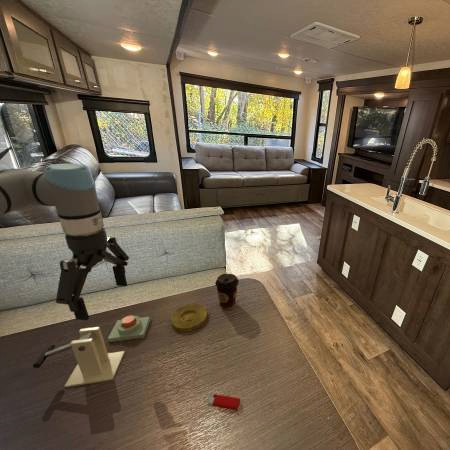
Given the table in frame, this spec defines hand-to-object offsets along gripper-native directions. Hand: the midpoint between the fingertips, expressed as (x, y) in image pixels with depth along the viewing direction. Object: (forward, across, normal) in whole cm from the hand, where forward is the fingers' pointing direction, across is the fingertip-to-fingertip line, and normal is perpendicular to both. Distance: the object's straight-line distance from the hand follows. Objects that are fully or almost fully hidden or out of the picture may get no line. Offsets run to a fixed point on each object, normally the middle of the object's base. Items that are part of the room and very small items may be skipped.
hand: (104, 300), depth 67 cm
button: (+18, +9, +2) cm, 20 cm away
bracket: (+21, -5, +2) cm, 22 cm away
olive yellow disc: (+21, +17, -14) cm, 31 cm away
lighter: (+21, -10, -36) cm, 43 cm away
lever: (+12, -6, +7) cm, 16 cm away
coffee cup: (+21, +27, -25) cm, 42 cm away
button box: (+21, +9, +2) cm, 23 cm away
